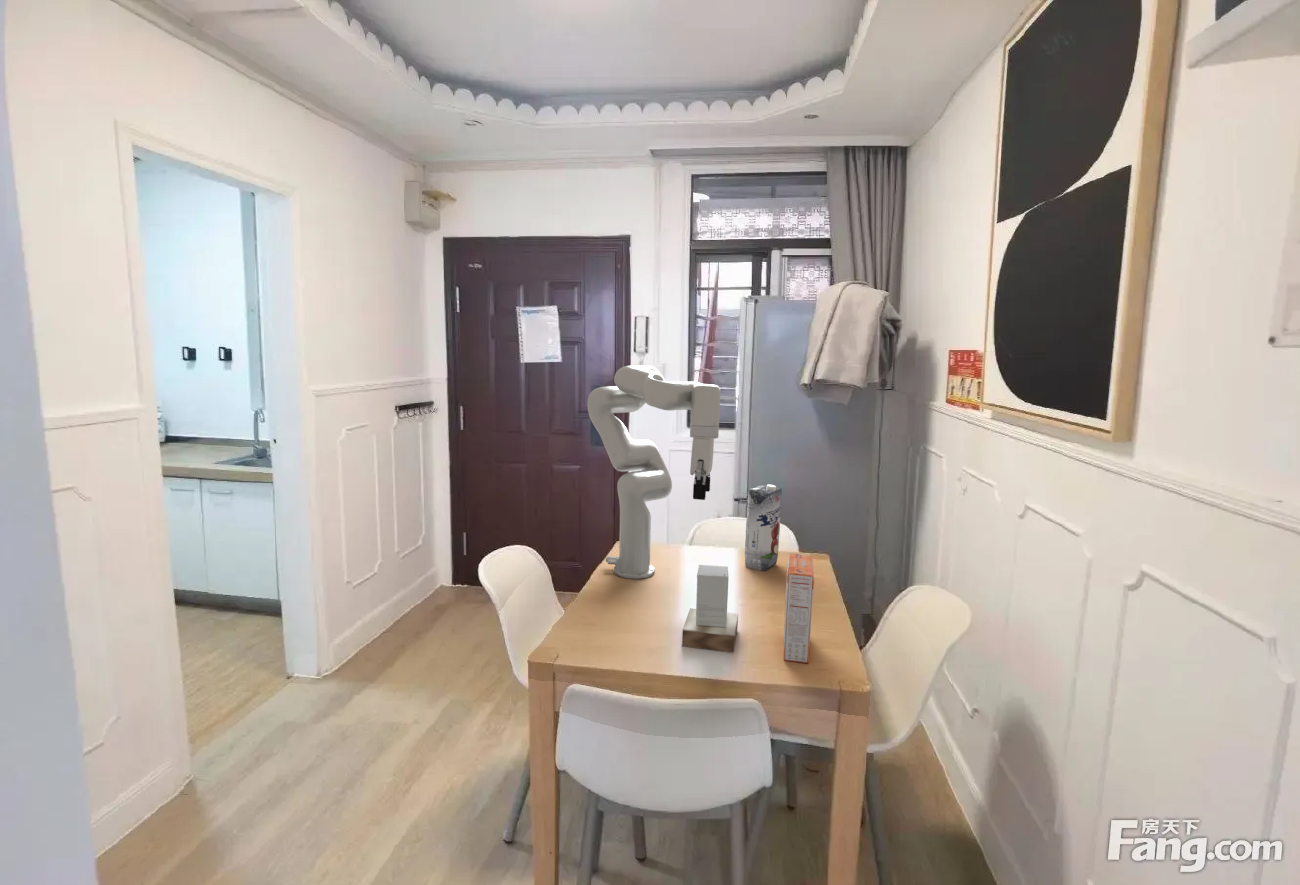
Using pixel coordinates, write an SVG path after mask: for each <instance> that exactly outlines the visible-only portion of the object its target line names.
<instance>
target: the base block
mask: <svg viewBox="0 0 1300 885" xmlns="http://www.w3.org/2000/svg"><path fill="white" fill-rule="evenodd" d="M738 622H739V613H735V612H734V613H732V612H727V621H726V627H715V626H701V625H696V608H689V611H688V613H687V615H686V618H685V621H684V624H683V627H682V635H681V637H682V638H681V647H686V648H694V649H699V650H700V649H702V650H709V651H717V652H723V653H724V652H725V653H732V654H734V652H735V646H736V640H737V635H738Z"/></svg>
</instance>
